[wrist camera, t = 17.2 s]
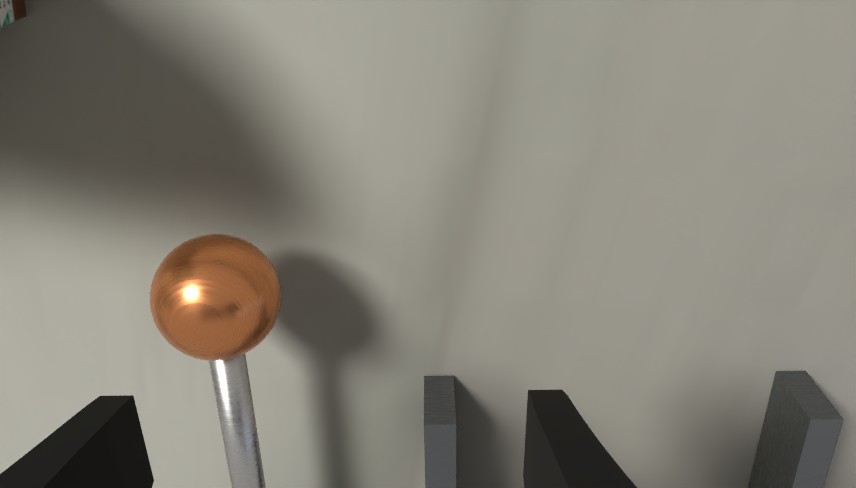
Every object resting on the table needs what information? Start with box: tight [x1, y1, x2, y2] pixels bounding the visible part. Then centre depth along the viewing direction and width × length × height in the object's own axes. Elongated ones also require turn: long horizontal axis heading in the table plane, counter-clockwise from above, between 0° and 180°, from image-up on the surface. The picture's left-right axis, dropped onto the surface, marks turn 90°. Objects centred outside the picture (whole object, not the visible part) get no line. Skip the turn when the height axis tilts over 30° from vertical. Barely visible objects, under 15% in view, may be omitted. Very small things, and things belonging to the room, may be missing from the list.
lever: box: [150, 234, 281, 488], centre depth 22 cm, size 3×16×3 cm, turn 1°
